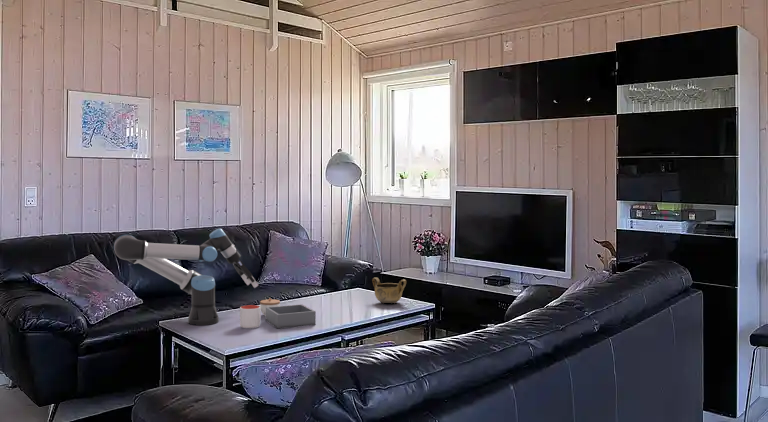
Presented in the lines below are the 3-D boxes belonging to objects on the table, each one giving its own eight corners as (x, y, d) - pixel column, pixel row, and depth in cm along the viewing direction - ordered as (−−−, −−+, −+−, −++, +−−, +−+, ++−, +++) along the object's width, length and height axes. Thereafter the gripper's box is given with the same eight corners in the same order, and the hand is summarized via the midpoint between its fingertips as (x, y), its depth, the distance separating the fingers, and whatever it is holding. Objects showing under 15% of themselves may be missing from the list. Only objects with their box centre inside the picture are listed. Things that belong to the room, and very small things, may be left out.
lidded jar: (263, 318, 348) (263, 300, 348) (257, 314, 358) (257, 297, 357) (282, 316, 353) (282, 299, 353) (276, 312, 363) (276, 295, 362)
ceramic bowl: (411, 302, 394) (411, 278, 393) (398, 307, 379) (398, 281, 378) (379, 299, 405) (379, 275, 404) (365, 303, 390) (365, 278, 389)
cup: (264, 325, 331) (264, 306, 330) (252, 329, 322) (252, 309, 321) (248, 323, 335) (248, 304, 334) (235, 327, 326) (235, 307, 325)
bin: (277, 328, 324) (277, 314, 324) (265, 320, 342) (265, 307, 342) (315, 324, 334) (315, 311, 333) (302, 317, 351) (302, 304, 351)
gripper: (242, 251, 345) (265, 283, 351) (230, 248, 367) (251, 278, 373) (231, 260, 342) (254, 292, 348) (219, 256, 364) (241, 286, 370)
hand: (252, 285), depth 360 cm, fingers open, 13 cm apart
